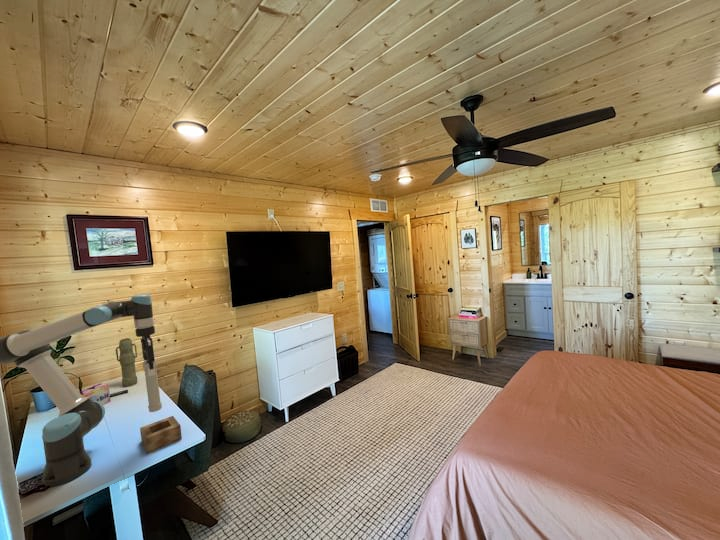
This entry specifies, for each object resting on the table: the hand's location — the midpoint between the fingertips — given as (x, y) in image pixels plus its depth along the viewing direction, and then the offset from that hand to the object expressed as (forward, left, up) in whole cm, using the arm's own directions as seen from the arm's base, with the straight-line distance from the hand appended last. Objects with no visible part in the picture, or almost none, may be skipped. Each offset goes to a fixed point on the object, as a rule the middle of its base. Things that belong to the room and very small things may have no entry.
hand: (150, 374), depth 147 cm
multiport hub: (-7, +88, -34) cm, 94 cm away
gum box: (-21, +76, -33) cm, 85 cm away
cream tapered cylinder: (0, 0, -18) cm, 18 cm away
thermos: (+2, +102, -33) cm, 107 cm away
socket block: (+1, -2, -33) cm, 33 cm away
